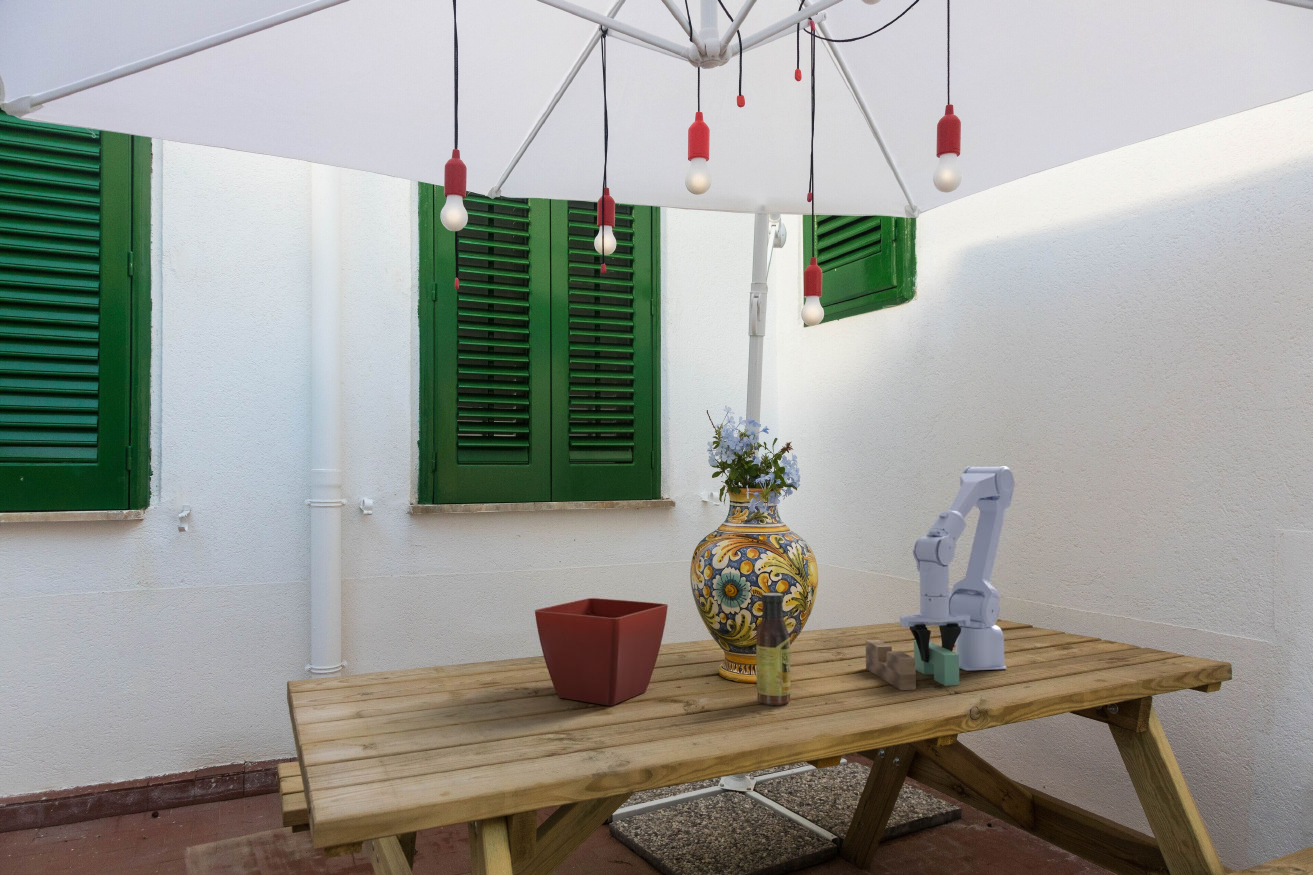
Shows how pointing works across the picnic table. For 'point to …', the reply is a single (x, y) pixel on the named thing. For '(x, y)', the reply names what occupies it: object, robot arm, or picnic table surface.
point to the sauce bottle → (773, 653)
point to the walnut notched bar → (891, 665)
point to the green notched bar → (939, 664)
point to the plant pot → (601, 647)
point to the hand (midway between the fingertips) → (935, 660)
